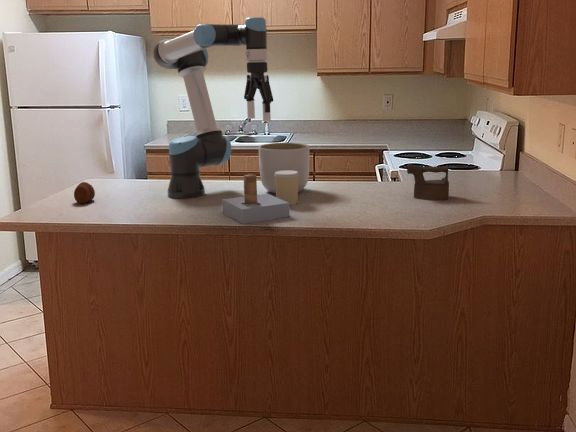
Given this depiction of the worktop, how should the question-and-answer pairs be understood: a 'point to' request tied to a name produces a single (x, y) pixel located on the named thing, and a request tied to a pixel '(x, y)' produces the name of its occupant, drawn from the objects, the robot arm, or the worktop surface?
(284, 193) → the coffee cup
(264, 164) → the planter
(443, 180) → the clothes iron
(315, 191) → the worktop surface
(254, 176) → the peg
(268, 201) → the board
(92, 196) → the potato
